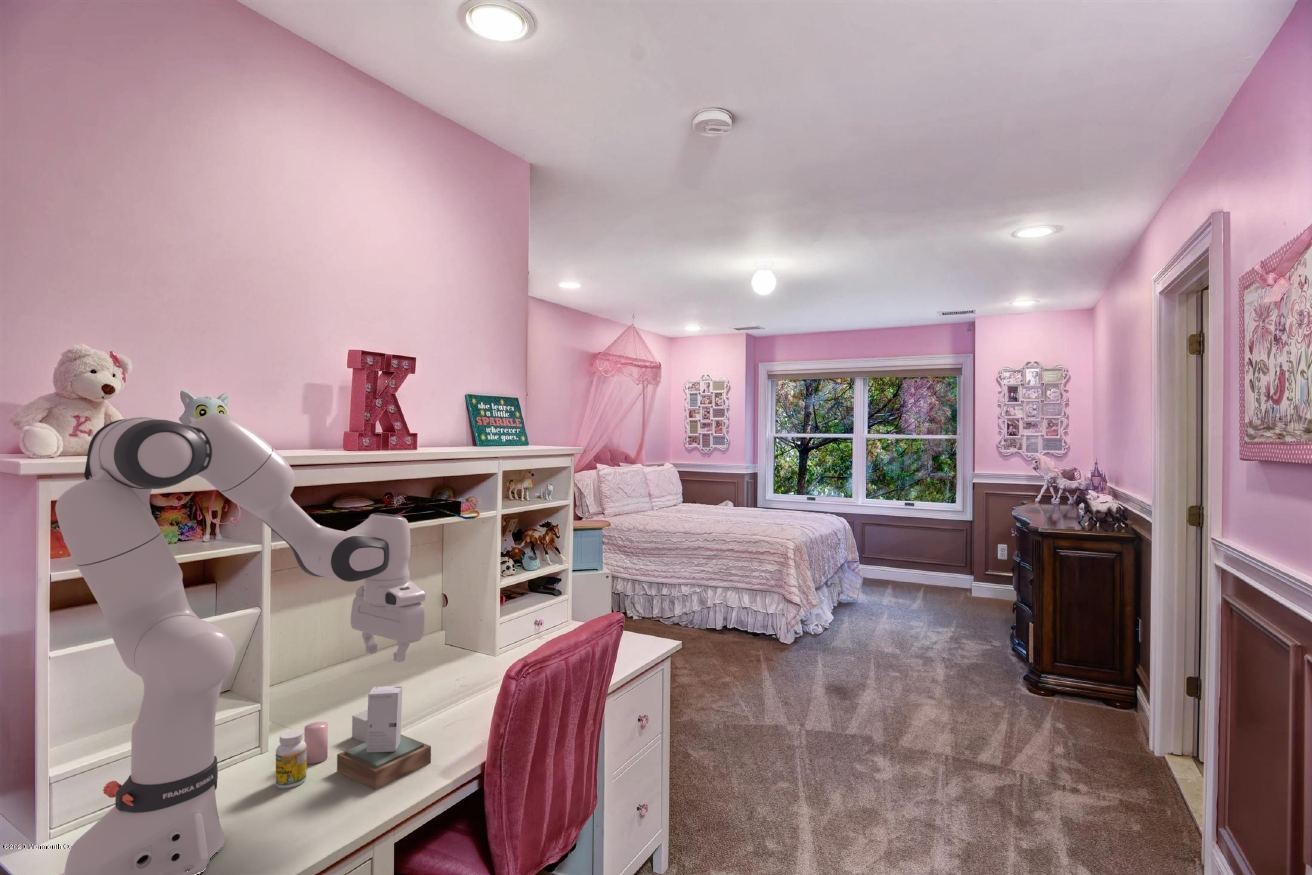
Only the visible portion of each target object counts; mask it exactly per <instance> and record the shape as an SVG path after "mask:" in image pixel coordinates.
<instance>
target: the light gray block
mask: <svg viewBox="0 0 1312 875" xmlns="http://www.w3.org/2000/svg"><path fill="white" fill-rule="evenodd" d="M351 716H352V717H351V718H352V719H351V722H352V724H351V737H352V738H353V739H356V740H358V741H360V742H363V743H365V742H367V718H368V709H367V710H364V711H361V712H359V713H356V714H353V715H351Z"/></svg>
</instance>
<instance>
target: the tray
mask: <svg viewBox="0 0 1312 875" xmlns="http://www.w3.org/2000/svg"><path fill="white" fill-rule="evenodd" d="M366 745H367V742H363V743H360V744H358V745H356V746H354V747H352V748H349V749H347V750H344V751H341V752H339V753H337V754H336V772H338V773H340V774H342V775H344V776H347V778H350V779H352V780H354V781H356V782H359V783H361V784H363V785H364V786H367V787H369V788H371V789H373V790H375V791H376V790H378V789H380V788H382V787H384V786H386V785H388V784H391V783H393V782H394V781H396V780H398V779H400V778H402V777H404V776H407V775H408V774H410V773H412V772H414V771H417V770H419V769H421V768H423V767H425V766H427V765H429V764H431V762H432V745H430V744H427V743H424V742H422V741H419V740H416V739H414V738H411V737H408V736H406V735H404V734H401V738H400V744H399V746H398V748H397V749H396V751H394V752H371V753H367V752H366Z"/></svg>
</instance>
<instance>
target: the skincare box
mask: <svg viewBox="0 0 1312 875" xmlns="http://www.w3.org/2000/svg"><path fill="white" fill-rule="evenodd" d="M402 701H403V686H401V685H399V686H397V685H396V686H395V685H394V686H393V685H389V686H388V685H386V686H385V685H384V686H373V687H372V689H371V690H370V691H369V693H368V696H367V702H368V703H367V710H368V718H367V745H366V752H367V753H371V752H394V751H396V749H397V748H398V746H399V744H400V738H401V735H402V734H401V733H402V732H401V730H402V708H403V707H402V704H403V702H402Z"/></svg>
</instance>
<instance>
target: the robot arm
mask: <svg viewBox="0 0 1312 875" xmlns="http://www.w3.org/2000/svg"><path fill="white" fill-rule="evenodd" d="M196 475H197V476H199V477H201V478H202V479H205V480H206V481H207V482H208V483H209V484H211V486H213V487H214V488H215V489H216V490H217V491H219V493H221V494H222V495H223V496H224V497H225V498H227V499H228V500H230V501H231V502H233V503H234V504H235V505H237V506H238V507H241V508H242V509H244V510H246V511H247V512H249V513H250V514H252V515H254V516H256V517H257V518H259V519H260V520H261V521H262V522H263V523H264V524H265V525H266V526H268V527H269V528H270V530H272V531H273V532H274V533H275V534H276V535H277V536H278V537H280V538H281V539H282V540H283V541H284V542H285V543H286V544H287V545H288V546H289V548H290V549H291V551H292V553H293V555H294V557H295V558H294V559H296V562H297V564H298V565H299V567H300V569H301V570H303V572H305V573H306V574H308V575H310V576H312V577H316V578H317V577H319V578H327V579H331V580H335V581H340V582H344V583H352V582H353V583H354V582H358V581H363V580H364V581H363V582H364V585H361V586H359V587H358V588H357V590H356V591H355V596H354V598H353V601H352V604H351V605H352V606H351V613H350V626H351V628H352V630H355V631H359V632H362V634H361V636H362V639H363V642H364V645H365V653H366V654H370V655H372V654H376V653H377V652H378V643H376V642H375V637H374V636H378V637H381V638H385V639H390V640H393V641H396V646H398V647H397V650H396V652H393V661H394V662H396V663H402V662H404V661H405V660H406V653H407V651H408V649H409V648H410V645H411V644H412V643H417V642H419V641H422V638H423V637H424V634H425V623H426V622H425V620H426V619H425V618H426V616H425V614H426V613H425V607H424V605H423V604H422V603H423V602H425V601H426V593H425V591H424V590H422V589H421V588H420V587H419V586H417V585H416V584H415V583H414V582H413V581H411V580H410V577H411V576H410V575H411V574H410V573H411V572H410V568H409V560H410V558H411V546H412V545H411V530H410V524H409V521H408V520H407V518H405V517H404V516H402V515H398V514H392V513H390V514H389V513H383V512H382V513H381V512H373V513H371V514H370V515H369V516H368V518H366V519H365V520H363V522H361V523H360V524H358V525H356V526H355V527H353V528H350V529H348V530H346V531H344V530H338V529H335V528H332V527H327V526H323V525H320V523H318V522H316V521H315V520H314V519H313V518H312V517H310V515H309V514H307V512H305V511H304V510H303V508H302V507H301V506H300V505H298V504H297V503H296V502H295V501H294V499H293V498H292V497H291V495H292V493H293V490H294V489H295V485H296V473H295V471H294V470H293V468H292V467H291V466H290V464H289V462H287V460H286V459H285V457H284V456H283V455H282V454H281V453H279V452H278V451H277V450H276V449H275V448H274V447H273V446H272V445H271V444H270V443H269V442H267V441H266V440H265V439H264V438H263V437H262V436H260V435H259V434H257V432H256V431H253V430H252V429H251V428H249V427H248V426H247V425H245V424H244V423H242V422H240V421H239V420H237V419H236V418H234V417H233V416H231V415H229V414H225V413H221V412H220V413H219V412H214V413H208V414H205V415H203V416H201V417H199V418H197V419H194V421H192V422H191V423H190V424H189V425H188V424H184V423H179V422H176V421H172V420H168V419H156V418H152V417H147V416H145V417H143V416H142V417H141V416H140V417H130V418H124V419H123V418H121V419H117V420H114V421H111V422H110V423H107V424H104V425H103V426H102V427H101V428H100V429H98V430H97V431H96V432H95V433H94V434H93V436H92V438H91V439H90V442H89V445H88V449H87V457H86V461H85V468H84V473H83V476H84V478H85V480H84V481H82V482H78V483H77V484H75V485H72V486H71V487H70V488H68V489H67V490H65V491H64V492H63V493H62V494H61V495H60V496H59V497H58V499H57V501H56V503H55V509H54V510H55V514H56V519H57V522H58V526H59V528H60V533H61V534H62V538H63V540H64V543H65V546H66V548H67V550H68V552H69V554H70V556H71V558H72V560H73V562H74V563H75V566H76V567H77V569H78V570H79V572H80V574H81V576H82V577H83V579H84V581H85V582H86V585H87V586H88V588H89V589H90V591H91V593H92V595H93V597H94V598H95V599H94V600H96V602H97V604H98V605H99V608H100V609H101V612H102V614H103V617H104V620H105V622H106V626H107V628H108V630H109V633H110V635H111V638H112V640H113V643H114V645H115V647H116V649H117V651H118V653H119V655H120V657H121V660H122V662H123V663H124V665H125V666H126V667H127V669H129V670H130V671H131V672H133V673H134V674H136V675H138V676H139V677H141V679H142V682H143V696H142V697H143V698H142V702H141V705H140V710H139V713H138V717H137V719H136V721H134V724H132V727H131V740H130V741H131V745H130V746H131V748H130V750H131V752H130V753H131V755H130V775H129V776H128V778H127V779H126V780H125V782H124V783H123V784H121V783H119V782H118V781H117V780H111V781H109V782H107V783H106V784H105V786H103V789H102V792H103V794H104V795H105V796H107V797H108V798H112V799H113V798H115V802H114V803H115V804H114V806H113V807H111V809H110V810H109V811H108V812H107V813H106V814H105V815H103V816H102V817H101V818H99V820H97V821H96V823H95V824H93V825H92V826H91V827H90V828H89V829H88V830H87V831H86V832H84V834H82V835H81V836H80V837H78V839H76V841H74V843H73V844H72V846H71V847H70V849H69V852H68V855H67V859H66V861H65V867H64V872H62V873H60V874H59V875H194V874H197V873H198V872H201V871H203V870H204V869H205V868H206V866H207V864H208V865H209V863H210V861H211V860H210V858H211V857H212V856H213V855H214V854H215V853H216V852H219V851H220V850H221V849H222V848H221V847H224V845H225V842H224V841H226V836H225V834H224V831H223V828H222V825H221V821H220V816H219V813H218V812H219V811H218V807H217V806H218V805H217V798H216V797H217V796H216V790H217V788H218V779H219V778H218V777H219V769H218V757H217V756H216V755H215V745H216V744H215V738H216V737H215V736H216V734H215V733H216V731H215V730H216V713H217V707H218V702H219V699H220V695H221V690H222V687H223V683H224V680H225V679H226V678H227V677H228V676H229V675H230V673H231V671H232V669H233V668H234V664H235V661H236V649H235V646H234V644H233V642H232V640H231V639H230V638H229V636H228V635H227V633H226V632H225V631H224V630H223V629H222V628H221V627H219V626H218V625H216V624H213V623H212V622H209V621H206V620H204V619H201V618H200V617H199V616H198V615H196V613H195V612H194V611H193V609H192V608H191V606H190V603H189V600H188V598H187V595H186V592H185V588H184V587H185V586H184V583H183V578H184V577H183V576H184V574H183V571H182V569H181V567H180V565H179V562H178V561H177V558H176V557H175V555H174V552H173V551H172V549H171V547H170V545H169V544H168V541H167V540H166V538H165V535H164V534H163V532H162V530H161V527H160V526H159V525H158V522H157V521H156V519H155V517H154V516H153V514H152V508H151V504H150V498H151V493H152V491H153V490H161V489H167V488H170V487H174V486H176V485H178V484H180V483H183V482H185V481H186V480H188V479H190V478H192V477H194V476H196ZM218 850H219V851H218ZM215 855H216V854H215ZM215 855H214V856H215ZM214 856H213V857H214ZM213 857H212V858H213ZM212 858H211V859H212ZM209 860H210V861H209ZM208 862H209V863H208ZM207 867H208V866H207ZM206 869H207V868H206ZM187 871H188V872H187Z"/></svg>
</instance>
